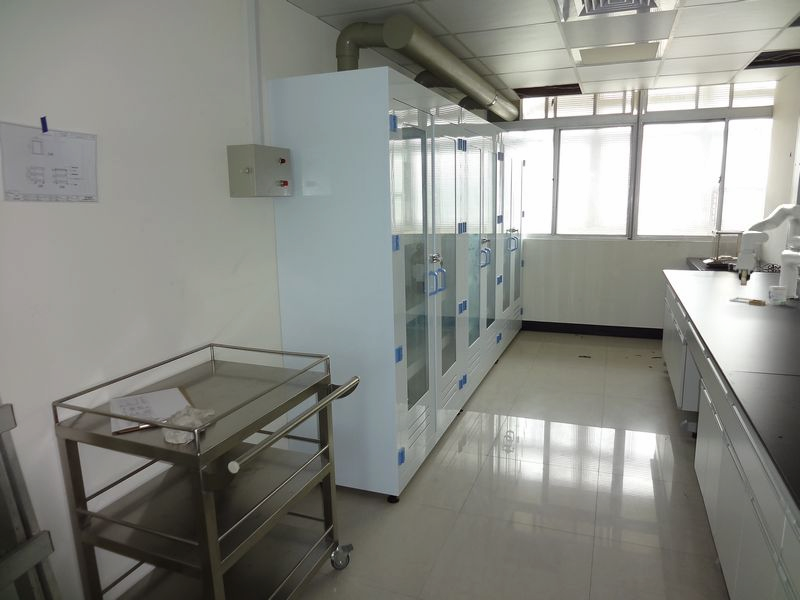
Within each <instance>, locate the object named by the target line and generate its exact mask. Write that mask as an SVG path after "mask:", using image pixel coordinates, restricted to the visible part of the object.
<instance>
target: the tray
mask: <svg viewBox="0 0 800 600" xmlns="http://www.w3.org/2000/svg"><path fill="white" fill-rule="evenodd" d="M752 299H754V300H756V298H747V297H738V296H736V297H733V298H730V299H729V302H735V303H743V304H749V301H750V300H752Z"/></svg>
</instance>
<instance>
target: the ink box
mask: <svg viewBox="0 0 800 600" xmlns="http://www.w3.org/2000/svg"><path fill="white" fill-rule="evenodd" d="M787 288H788V287H784V286H779V285H769V286H768V295H767V301H766V303H767V305H768V304H769V305H770V306H786V305H787V304H786V303H787V298H786V297H787Z"/></svg>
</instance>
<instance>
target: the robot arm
mask: <svg viewBox="0 0 800 600" xmlns="http://www.w3.org/2000/svg"><path fill="white" fill-rule="evenodd" d="M786 220H787V221H788V222H789V225H790V227H789V231H788V236H787V238H786V246H788V247H789V248H791V249H785V250H783V251H782V252H781V253H780V274H779V283H778V284H779V285H778V286H784V287H788V288H787V297H786V299H790V298H794V299H798V298H799V296H798V295H796V292H797V287H798V286H797V285H798V278H799V269H798V266H800V250H798V249H800V204H781V205H779V206H778V207H777V208H775V209H774V211H773V212H772V213H770V214H769V215H768V217H767V218H765V219H762V220H760V221H759V222H755V223H754V224H752V225H751V226H750V227H749V228H748V229H747V230H746V231H743V233H742V234H741V242H740V248H739V249H740V250H739V251H740V252H739V253H738V256H737V259H736V262H735V263H736V264H735V265H734V267H733V270H734V271H736V272H737V273H738V280H739V281H741V275H742V269H744V270H748V275H747V278H746V281H747V282H749V281H751V275H752V274H754V273H755V272H757V271H758V268H757V256H756V253H757V252H758V250H756V244H759V245H761V244H765V243H767V242H768V241H769V238H770V237H769V236H770V235H769V234H768V232H766V231H770V230H774V229H777V228H779V227H780V226H781V225H782V224H783V223H784V222H785V221H786ZM792 248H793V249H792Z"/></svg>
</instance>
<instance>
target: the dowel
mask: <svg viewBox="0 0 800 600" xmlns="http://www.w3.org/2000/svg"><path fill="white" fill-rule="evenodd" d="M747 275H748V270H744V269H742V275H741V280H740V284H739V285H740V286H745V287H746V286H748V281H746V278H747Z"/></svg>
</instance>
